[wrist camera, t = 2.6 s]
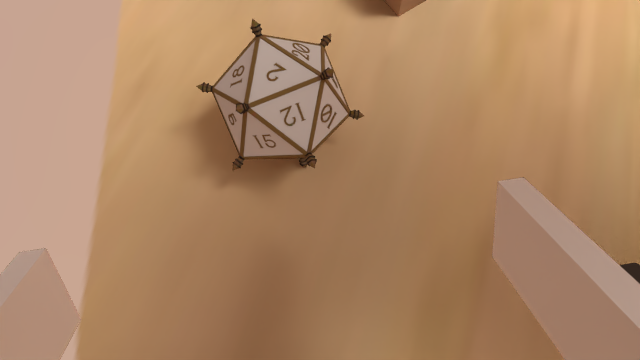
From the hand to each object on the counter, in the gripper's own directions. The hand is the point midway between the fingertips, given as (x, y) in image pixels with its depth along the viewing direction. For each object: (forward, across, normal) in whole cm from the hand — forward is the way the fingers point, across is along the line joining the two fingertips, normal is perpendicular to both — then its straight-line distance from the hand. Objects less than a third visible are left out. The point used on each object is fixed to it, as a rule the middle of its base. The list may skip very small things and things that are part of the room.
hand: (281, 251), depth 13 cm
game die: (+18, 0, -3) cm, 18 cm away
